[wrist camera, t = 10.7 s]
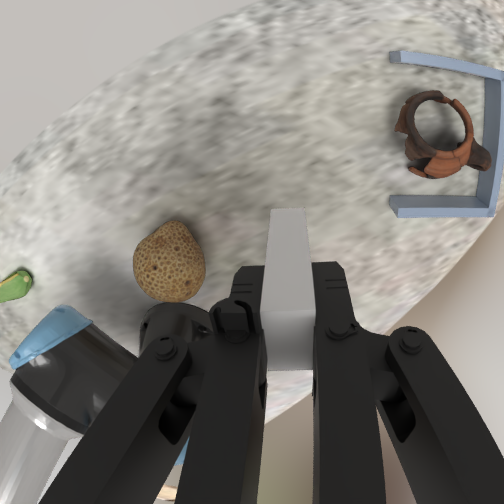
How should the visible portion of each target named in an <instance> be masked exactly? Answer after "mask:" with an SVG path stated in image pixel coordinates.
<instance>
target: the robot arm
mask: <svg viewBox="0 0 504 504" xmlns="http://www.w3.org/2000/svg"><path fill="white" fill-rule="evenodd" d="M9 363H10V365H11V367H12V369H16V371H15V373H14V374H13V376H12V378H11V379H10V387H11V391H12V394H13V400H12V402H11V404H10V406H9V407H8V409H7V411H6V413H5V415H4V417H3V419H2V421H1V422H0V504H37V501H38V499H39V497H40V495H41V493H42V491H43V489H44V487H45V485H46V483H47V481H48V479H49V477H50V475H51V473H52V471H53V469H54V467H55V465H56V463H57V461H58V459H59V458H60V456H61V454H62V452H63V450H64V448H65V446H66V444H67V442H68V441H69V440H70V439H73V438H79V437H82V439H81V440H80V442H79V443H78V445H77V446H76V448H75V449H74V451H73V452H72V454H71V455H70V456H69V458H68V459H67V461H66V462H65V464H64V465H63V467H62V469H61V470H60V471H59V473H58V474H57V476H56V477H55V479H54V481H53V482H52V484H51V485H50V487H49V488H48V490H47V491H46V493H45V495H44V496H43V497H42V499H41V501H40V502H39V504H153V503H154V501H155V499H156V497H157V495H158V494H159V492H160V490H161V488H162V486H163V485H164V483H165V481H166V479H167V477H168V475H169V474H170V472H171V470H172V468H173V466H174V465H181V464H183V467H182V471H181V476H180V480H179V485H178V489H177V494H176V498H175V503H174V504H257V494H258V484H259V475H260V465H261V454H262V443H263V432H264V421H265V409H266V397H267V378H266V373H267V368H268V371H284V370H313V388H312V396H313V420H314V421H313V422H314V460H313V462H314V463H313V464H314V465H313V467H314V468H313V504H386V493H385V480H384V469H383V459H382V449H381V441H380V433H379V426H378V418H377V411H376V407H377V409H378V412H379V414H380V416H381V418H382V420H383V423H384V425H385V428H386V430H387V432H388V434H389V437H390V439H391V441H392V444H393V446H394V448H395V451H396V453H397V455H398V458H399V460H400V463H401V465H402V468H403V470H404V472H405V475H406V477H407V480H408V482H409V485H410V487H411V490H412V492H413V495H414V497H415V500H416V503H417V504H504V458H503V456H502V454H501V452H500V450H499V448H498V446H497V444H496V442H495V441H494V439H493V437H492V435H491V433H490V431H489V430H488V428H487V426H486V424H485V423H484V421H483V419H482V417H481V416H480V414H479V412H478V410H477V409H476V407H475V405H474V404H473V402H472V400H471V399H470V397H469V395H468V394H467V393H466V391H465V389H464V387H463V386H462V384H461V383H460V381H459V379H458V378H457V376H456V375H455V373H454V372H453V370H452V369H451V367H450V366H449V364H448V363H447V361H446V360H445V358H444V357H443V355H442V354H441V352H440V351H439V349H438V348H437V346H436V345H435V343H434V342H433V340H432V339H431V338H430V336H429V335H428V334H426V332H425V331H423V330H421V329H419V328H417V327H411V326H406V327H400V328H399V329H396V330H394V331H393V333H392V334H391V335H390V336H386V335H380V334H375V333H372V332H369V331H367V330H365V329H364V328H362V327H361V326H360V324H359V323H358V322H357V321H356V319H355V317H354V312H353V307H352V303H351V298H350V294H349V289H348V285H347V281H346V277H345V272H344V269H343V268H342V267H341V266H340V265H339V264H338V263H337V262H336V261H334V262H313V263H311V256H310V247H309V239H308V230H307V222H306V214H305V207H299V208H280V209H271V214H270V223H269V233H268V242H267V252H266V261H265V265H264V266H242V267H241V268H240V269H239V270H238V272H237V273H236V274H235V275H234V280H233V286H232V288H231V294H230V297H229V298H226V299H224V300H221V301H219V302H217V303H216V304H215V305H214V306H212V308H211V309H210V311H209V313H207V312H205V311H203V310H201V309H199V308H197V307H194V306H191V305H187V304H182V303H163V304H159V305H156V306H154V307H153V308H151V309H150V310H149V311H148V312H147V314H146V315H145V317H144V319H143V321H142V324H141V327H140V337H139V356H138V358H137V357H136V356H135V355H133V354H132V353H130V352H129V351H128V350H126V349H125V348H124V347H122V346H121V345H119V344H118V343H117V342H115V341H114V340H113V339H111V338H110V337H109V336H108V335H106V334H105V333H104V332H103V331H101V330H100V329H99V328H98V327H96V326H95V325H94V324H93V321H92V320H88V319H87V318H85V317H84V316H83V315H81V314H80V313H79V312H78V311H76V310H75V309H74V308H72V307H71V306H69V305H59V306H57V307H55V308H54V309H53V310H52V311H51V312H50V313H49V314H48V315H47V316H46V317H45V318H44V319H43V320H42V321H41V322H40V323H39V324H38V325H37V326H36V327H35V328H34V329H33V330H32V331H31V332H30V333H29V335H28V336H27V337H26V338H25V339H24V340H23V342H22V343H21V344H20V345H19V347H18V348H17V349H16V351H15V352H14V353H13V354H12V355H11V357H10V359H9Z"/></svg>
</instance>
